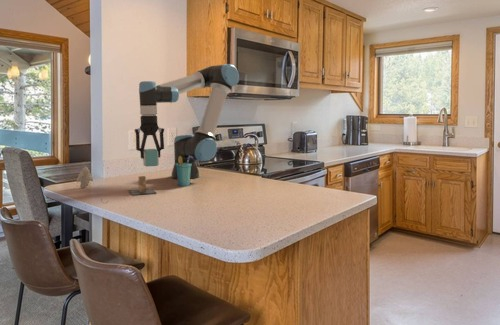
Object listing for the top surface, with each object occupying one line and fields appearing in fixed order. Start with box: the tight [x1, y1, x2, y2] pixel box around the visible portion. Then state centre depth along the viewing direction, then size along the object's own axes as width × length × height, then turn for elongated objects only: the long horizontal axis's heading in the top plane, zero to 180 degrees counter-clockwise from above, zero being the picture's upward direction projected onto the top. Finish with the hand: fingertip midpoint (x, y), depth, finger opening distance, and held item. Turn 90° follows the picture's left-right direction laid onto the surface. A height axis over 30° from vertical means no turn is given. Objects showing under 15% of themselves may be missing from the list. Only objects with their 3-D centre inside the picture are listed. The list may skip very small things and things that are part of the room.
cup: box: [176, 156, 194, 187], centre depth 189 cm, size 14×8×15 cm, turn 46°
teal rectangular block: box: [144, 148, 159, 167], centre depth 184 cm, size 5×5×8 cm
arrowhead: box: [76, 166, 94, 189], centre depth 182 cm, size 8×3×10 cm, turn 139°
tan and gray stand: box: [128, 175, 157, 196], centre depth 172 cm, size 10×10×7 cm
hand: (151, 164), depth 185 cm, fingers closed on teal rectangular block, 5 cm apart
